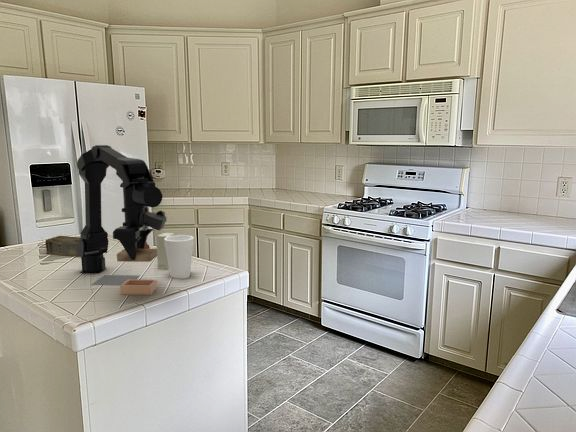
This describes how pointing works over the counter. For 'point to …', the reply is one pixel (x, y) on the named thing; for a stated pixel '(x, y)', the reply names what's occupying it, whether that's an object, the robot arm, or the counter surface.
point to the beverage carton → (62, 245)
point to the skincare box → (162, 251)
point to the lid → (138, 255)
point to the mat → (114, 279)
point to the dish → (138, 287)
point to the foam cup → (179, 255)
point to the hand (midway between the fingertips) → (137, 256)
